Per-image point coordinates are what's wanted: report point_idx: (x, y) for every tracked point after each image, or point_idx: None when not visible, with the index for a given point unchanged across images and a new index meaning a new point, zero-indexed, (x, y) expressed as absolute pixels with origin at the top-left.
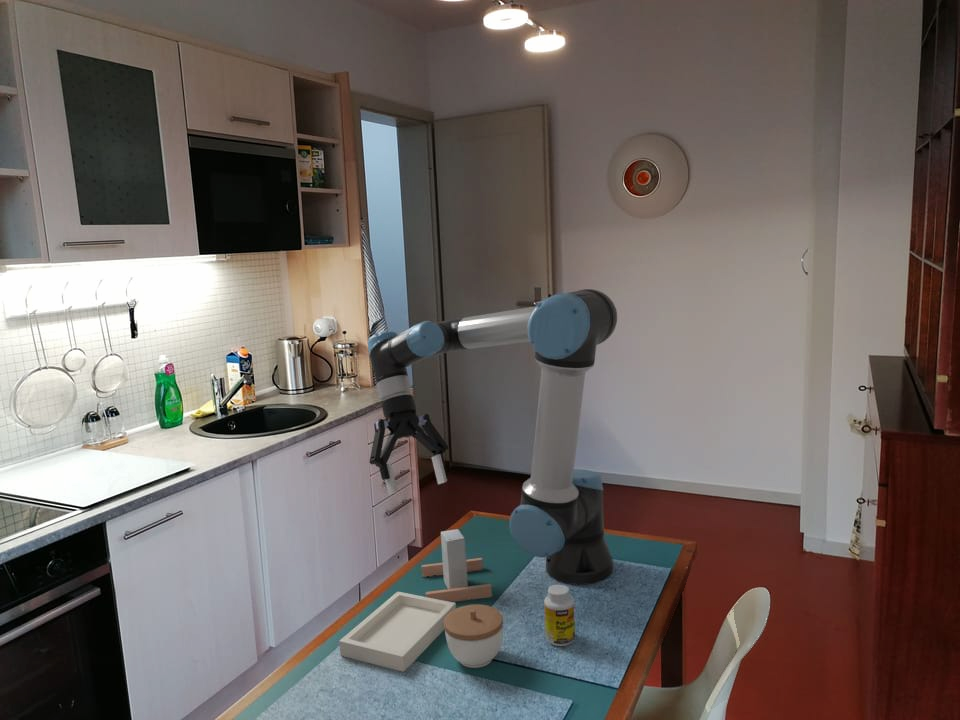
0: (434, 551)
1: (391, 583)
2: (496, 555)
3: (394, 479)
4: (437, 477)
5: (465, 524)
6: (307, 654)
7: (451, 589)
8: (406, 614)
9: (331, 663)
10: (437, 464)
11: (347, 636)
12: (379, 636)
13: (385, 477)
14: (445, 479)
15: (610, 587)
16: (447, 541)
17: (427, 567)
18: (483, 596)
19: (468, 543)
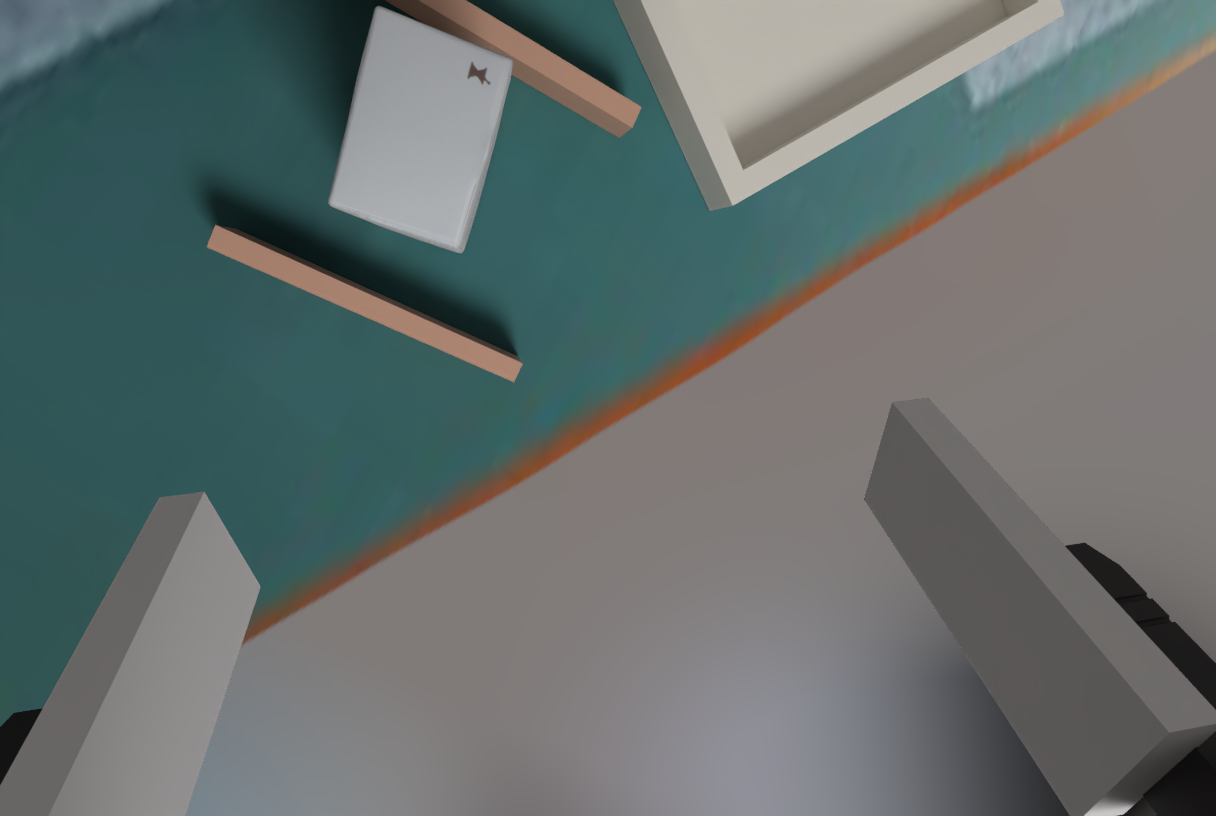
0: (343, 553)
1: (645, 393)
2: (77, 320)
3: (982, 506)
4: (228, 641)
5: None
6: (1072, 128)
7: (526, 56)
8: (750, 75)
9: None
10: (126, 775)
11: (1031, 20)
12: (900, 5)
13: (1104, 556)
14: (167, 516)
15: None
16: (506, 61)
17: (497, 351)
18: None
19: None
